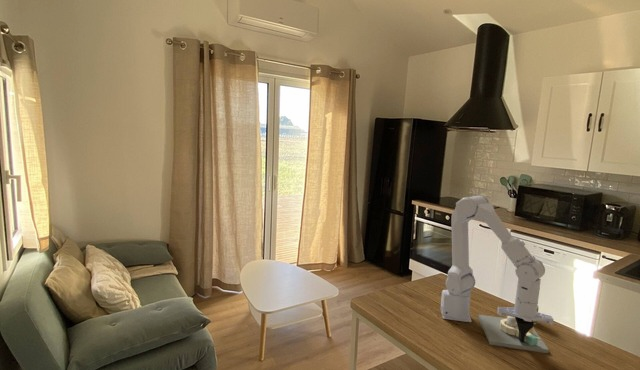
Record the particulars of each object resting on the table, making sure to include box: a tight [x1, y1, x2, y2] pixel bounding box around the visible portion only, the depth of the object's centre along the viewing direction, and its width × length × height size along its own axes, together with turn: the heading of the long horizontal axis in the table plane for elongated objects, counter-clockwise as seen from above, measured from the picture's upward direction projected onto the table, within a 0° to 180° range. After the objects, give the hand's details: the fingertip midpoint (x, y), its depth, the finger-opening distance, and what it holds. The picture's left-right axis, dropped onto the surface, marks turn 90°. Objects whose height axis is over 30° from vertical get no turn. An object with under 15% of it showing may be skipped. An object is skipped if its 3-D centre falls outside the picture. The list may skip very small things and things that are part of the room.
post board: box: [477, 314, 550, 354], centre depth 108 cm, size 16×16×6 cm
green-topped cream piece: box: [500, 319, 538, 346], centre depth 105 cm, size 11×6×2 cm, turn 19°
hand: (521, 340), depth 102 cm, fingers closed, pressing on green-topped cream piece
